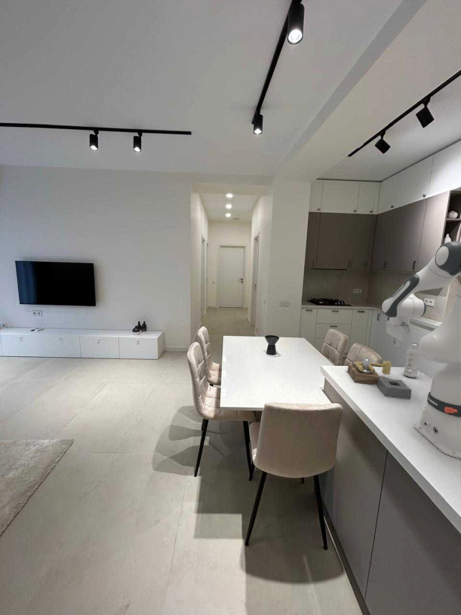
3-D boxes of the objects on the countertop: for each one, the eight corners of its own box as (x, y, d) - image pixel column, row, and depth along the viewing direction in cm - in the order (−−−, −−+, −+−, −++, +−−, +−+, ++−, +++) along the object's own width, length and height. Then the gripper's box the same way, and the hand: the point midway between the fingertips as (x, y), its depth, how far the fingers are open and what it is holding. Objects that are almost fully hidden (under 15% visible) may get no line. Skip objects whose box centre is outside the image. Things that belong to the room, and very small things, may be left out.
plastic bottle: (419, 379, 149) (425, 345, 145) (407, 378, 149) (413, 345, 145) (411, 374, 155) (417, 342, 152) (400, 373, 155) (405, 341, 152)
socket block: (379, 385, 138) (380, 374, 137) (355, 382, 140) (356, 371, 139) (368, 373, 154) (370, 363, 153) (347, 371, 156) (348, 361, 155)
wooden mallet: (396, 381, 138) (398, 368, 137) (358, 377, 141) (360, 365, 140) (387, 372, 149) (389, 361, 148) (352, 369, 153) (354, 357, 151)
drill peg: (370, 382, 141) (373, 361, 139) (360, 381, 142) (363, 360, 140) (367, 378, 146) (370, 358, 144) (357, 377, 147) (360, 357, 145)
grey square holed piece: (410, 399, 124) (411, 390, 124) (385, 396, 126) (386, 387, 126) (399, 388, 135) (401, 380, 134) (377, 386, 137) (378, 377, 136)
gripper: (416, 325, 125) (412, 352, 128) (397, 317, 145) (394, 341, 148) (402, 324, 127) (398, 351, 129) (385, 316, 146) (382, 340, 149)
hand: (395, 345), depth 138 cm, fingers open, 3 cm apart
